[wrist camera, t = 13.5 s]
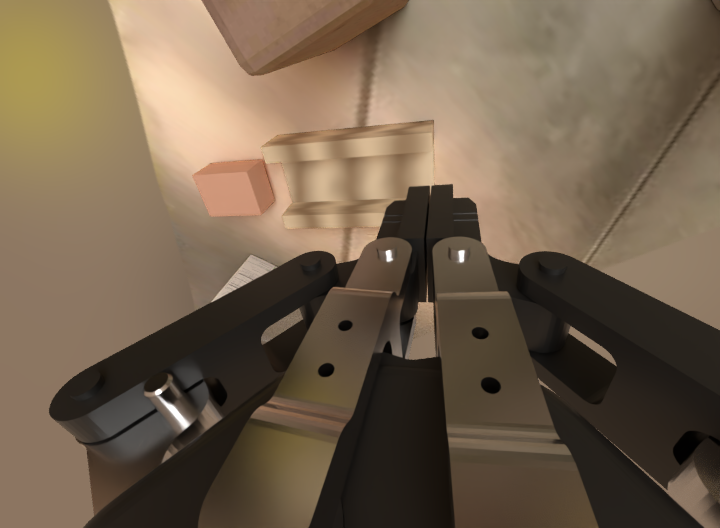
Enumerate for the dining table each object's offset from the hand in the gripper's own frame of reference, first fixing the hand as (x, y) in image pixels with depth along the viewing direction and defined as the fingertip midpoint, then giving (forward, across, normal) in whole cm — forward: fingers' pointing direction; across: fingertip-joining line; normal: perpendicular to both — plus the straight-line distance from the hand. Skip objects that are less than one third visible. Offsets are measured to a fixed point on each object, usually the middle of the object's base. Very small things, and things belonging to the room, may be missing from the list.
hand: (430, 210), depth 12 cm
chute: (+31, +11, +10) cm, 34 cm away
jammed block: (+30, +28, +10) cm, 42 cm away
